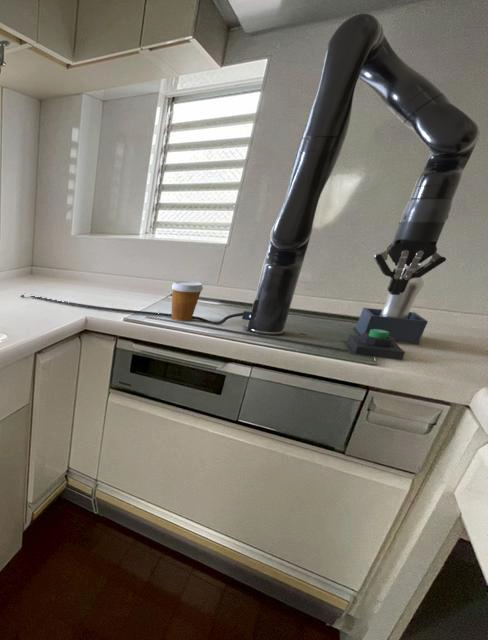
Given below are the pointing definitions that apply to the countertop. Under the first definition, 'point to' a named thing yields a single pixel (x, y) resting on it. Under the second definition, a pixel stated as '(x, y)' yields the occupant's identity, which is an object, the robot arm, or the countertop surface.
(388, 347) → the control block
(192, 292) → the disposable coffee cup
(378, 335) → the button
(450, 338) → the countertop surface
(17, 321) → the countertop surface
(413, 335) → the basket
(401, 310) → the silver metal bottle
